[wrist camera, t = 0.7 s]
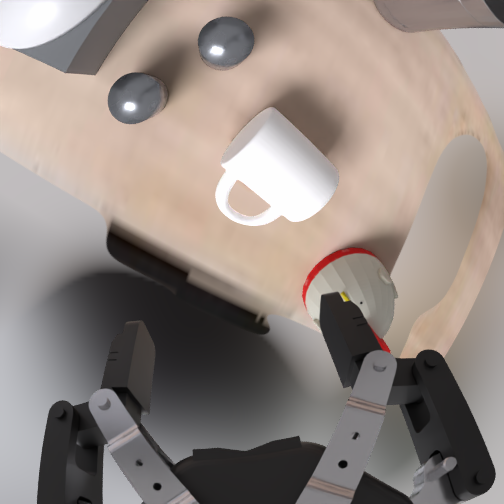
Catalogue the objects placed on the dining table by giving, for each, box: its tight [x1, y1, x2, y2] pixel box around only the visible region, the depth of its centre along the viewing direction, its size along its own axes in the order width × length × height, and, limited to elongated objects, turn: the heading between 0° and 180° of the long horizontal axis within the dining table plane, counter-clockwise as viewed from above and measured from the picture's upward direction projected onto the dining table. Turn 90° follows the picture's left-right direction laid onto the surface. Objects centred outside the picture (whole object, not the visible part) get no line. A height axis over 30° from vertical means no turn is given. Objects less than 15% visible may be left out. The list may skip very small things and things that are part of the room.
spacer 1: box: [108, 73, 168, 124], centre depth 25 cm, size 5×5×6 cm
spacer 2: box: [198, 17, 254, 70], centre depth 24 cm, size 5×5×6 cm
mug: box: [215, 107, 339, 226], centre depth 31 cm, size 12×10×8 cm
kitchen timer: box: [302, 248, 398, 354], centre depth 39 cm, size 14×14×15 cm
